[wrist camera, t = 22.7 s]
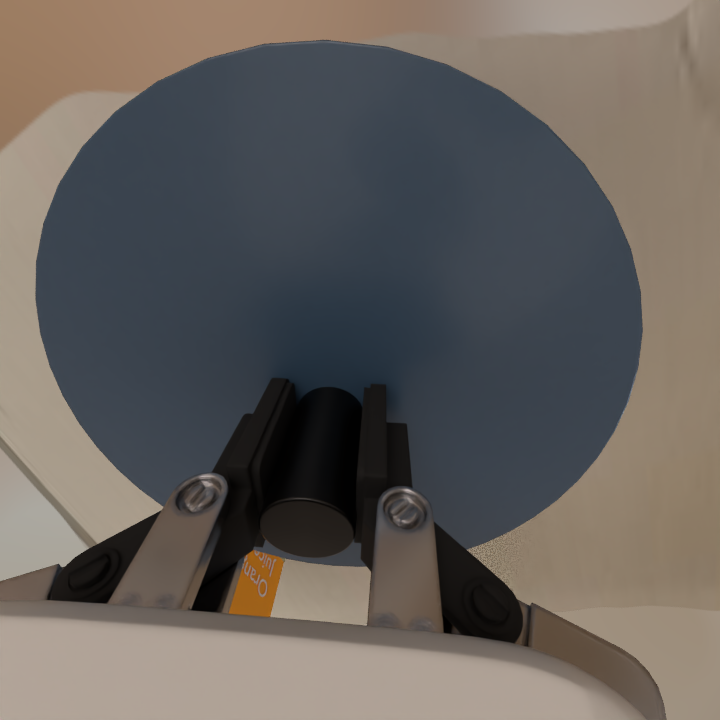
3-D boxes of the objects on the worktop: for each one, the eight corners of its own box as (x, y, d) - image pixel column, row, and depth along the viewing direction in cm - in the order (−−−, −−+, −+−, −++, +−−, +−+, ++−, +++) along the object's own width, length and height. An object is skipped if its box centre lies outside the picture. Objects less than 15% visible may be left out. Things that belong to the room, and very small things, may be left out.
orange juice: (200, 455, 36) (35, 717, 19) (271, 435, 34) (156, 711, 17) (238, 500, 40) (128, 756, 23) (304, 485, 38) (238, 755, 21)
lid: (-71, 43, 8) (-702, -124, 3) (771, 64, 8) (1448, -107, 3) (154, 531, 18) (74, 661, 14) (524, 559, 18) (576, 707, 13)
